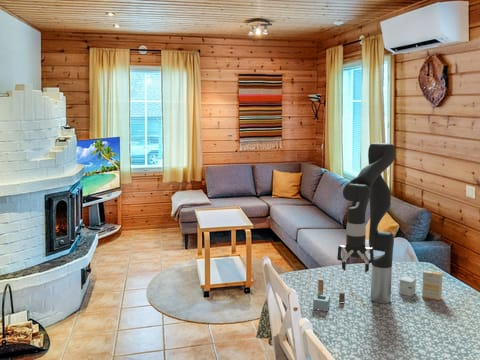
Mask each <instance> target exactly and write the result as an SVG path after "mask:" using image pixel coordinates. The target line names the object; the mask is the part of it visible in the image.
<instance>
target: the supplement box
mask: <svg viewBox="0 0 480 360" xmlns="http://www.w3.org/2000/svg"><path fill="white" fill-rule="evenodd" d="M443 272H444V271H438V270H433V269H425V268H424V270H423V271H422V290H421V291H422V292H421V298H422V299H429V300H435V301H441V299H442V294H443V292H442V291H443Z"/></svg>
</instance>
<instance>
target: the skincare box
mask: <svg viewBox="0 0 480 360" xmlns="http://www.w3.org/2000/svg"><path fill="white" fill-rule="evenodd" d="M416 285H417V279H416V278H413V277H410V276H402V277H401V278H399V288H398V289H399V290H398V293H399V294H400V295H404V296H407V297H413V295H414V294H415V293H416V288H417V287H416Z"/></svg>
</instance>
